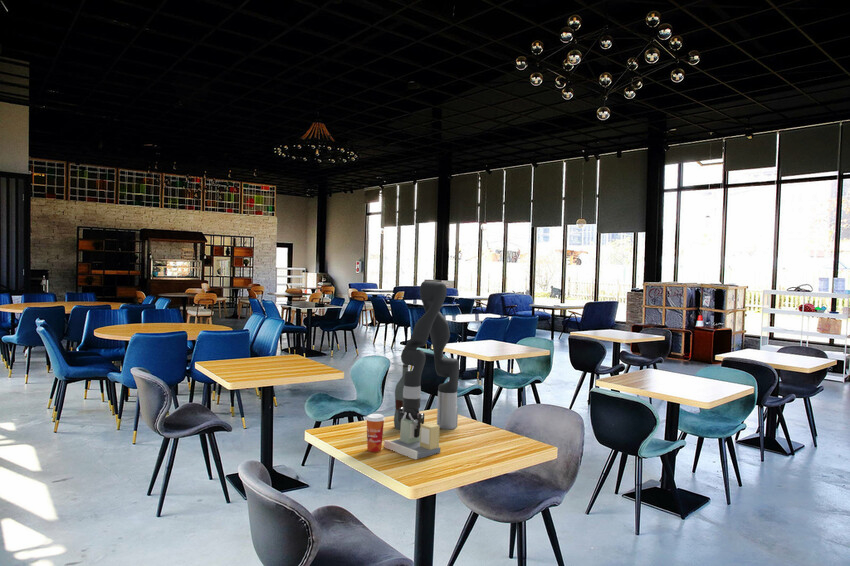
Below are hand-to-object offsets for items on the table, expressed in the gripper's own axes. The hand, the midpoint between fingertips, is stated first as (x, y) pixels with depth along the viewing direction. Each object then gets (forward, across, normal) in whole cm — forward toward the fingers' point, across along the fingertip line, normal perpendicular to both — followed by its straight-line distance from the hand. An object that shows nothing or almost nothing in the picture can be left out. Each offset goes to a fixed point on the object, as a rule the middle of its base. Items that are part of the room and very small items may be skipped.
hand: (410, 435), depth 228 cm
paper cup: (+5, +4, +16) cm, 17 cm away
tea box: (+2, 0, 0) cm, 2 cm away
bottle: (+5, +22, -16) cm, 27 cm away
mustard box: (+2, -11, 0) cm, 11 cm away
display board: (+4, -5, +3) cm, 7 cm away
